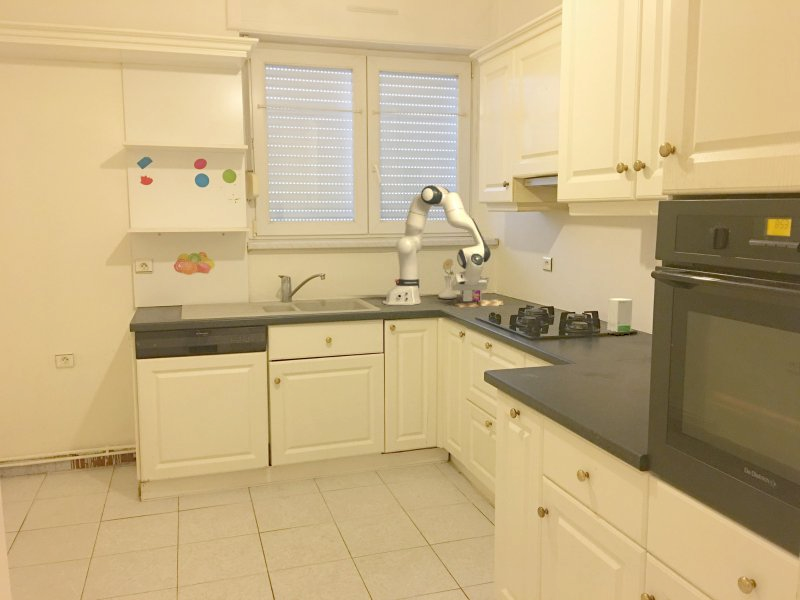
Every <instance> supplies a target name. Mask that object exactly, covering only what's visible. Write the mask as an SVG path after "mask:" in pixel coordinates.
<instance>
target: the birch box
mask: <svg viewBox="0 0 800 600" xmlns="http://www.w3.org/2000/svg"><path fill="white" fill-rule="evenodd" d="M477 305H479V306H480V305H481V306H480V307H493V306H494V307H499V305H503V306H504V301H503V300H501V299H481V300H478V302H477Z"/></svg>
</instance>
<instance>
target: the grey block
mask: <svg viewBox="0 0 800 600" xmlns="http://www.w3.org/2000/svg"><path fill="white" fill-rule="evenodd" d="M463 292H464V293H463V301H462V302H473V301H472V290H463Z"/></svg>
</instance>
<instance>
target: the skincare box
mask: <svg viewBox="0 0 800 600" xmlns="http://www.w3.org/2000/svg"><path fill="white" fill-rule="evenodd" d="M607 307H608V308H607V327H606V331H607V330H611V331H616V332H619V331H631V332H632V317H633V316H632V312H633V311H632V310H633V299H629V298H619V297H618V298H608V305H607Z"/></svg>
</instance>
